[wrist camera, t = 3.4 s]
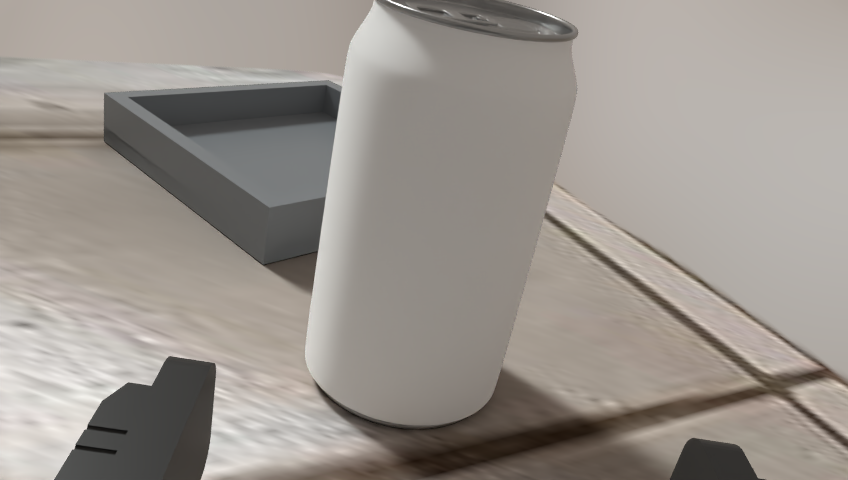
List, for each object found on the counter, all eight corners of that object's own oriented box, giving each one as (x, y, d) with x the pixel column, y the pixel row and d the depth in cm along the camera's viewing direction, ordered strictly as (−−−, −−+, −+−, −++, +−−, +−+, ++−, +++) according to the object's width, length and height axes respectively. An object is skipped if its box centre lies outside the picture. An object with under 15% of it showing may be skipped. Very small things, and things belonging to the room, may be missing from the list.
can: (524, 430, 24) (641, 52, 19) (321, 443, 22) (391, 18, 17) (457, 317, 29) (533, -1, 24) (289, 318, 27) (334, -32, 22)
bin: (263, 264, 30) (269, 207, 29) (103, 141, 38) (104, 92, 37) (488, 208, 40) (499, 163, 39) (323, 119, 48) (328, 80, 47)
